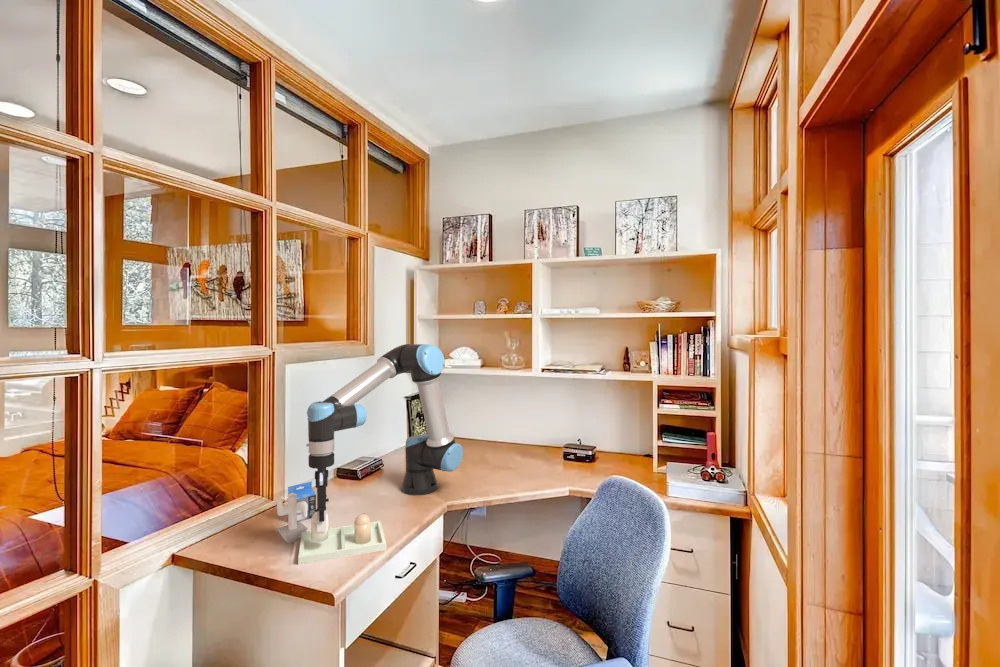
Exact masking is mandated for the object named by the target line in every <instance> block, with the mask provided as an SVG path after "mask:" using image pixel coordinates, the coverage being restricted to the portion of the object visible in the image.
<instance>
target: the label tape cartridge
mask: <svg viewBox="0 0 1000 667" xmlns="http://www.w3.org/2000/svg"><path fill="white" fill-rule="evenodd" d="M300 487H301V488H300ZM298 488H299V489H298ZM287 491H288V492H287V495H288V494H289V493H295V494H297V500H296V503H298V502H302V501H305V502H306V503H307V517H305V518H303V517H302V513H301V511H297V522H301V521H305V520H309V519H312V516H313V514H314V513H315V509H317V493H316V492H315V491H314V489H313V484H312V481H307V482H304V483H298V484H295V485H292V486H291V485H290V486H288V487H287Z"/></svg>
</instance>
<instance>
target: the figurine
mask: <svg viewBox="0 0 1000 667" xmlns="http://www.w3.org/2000/svg"><path fill="white" fill-rule="evenodd" d="M296 500H297V494H295V493H289V494H288V493H287V502H286V503H287V505H285V506H284V505H283V504H284V502H283V501H284V500H283V499H282V498H277V500H276V513H277V516H278V517H283V516H286V515H287V525H283V526H281V527H277V531H278V532H279V534H280V536H281V537H282V540H283V541H285V542H286V543H287V544H291V543H295V542H297V541H298V539H301V535H302V532H308V526H306V525H304V524H303V523H302V522H301V521H298V522H297V511H301V513H302V517H303V518H305V517H307V503H306V502H305V501H302V502H298V503H296Z"/></svg>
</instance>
